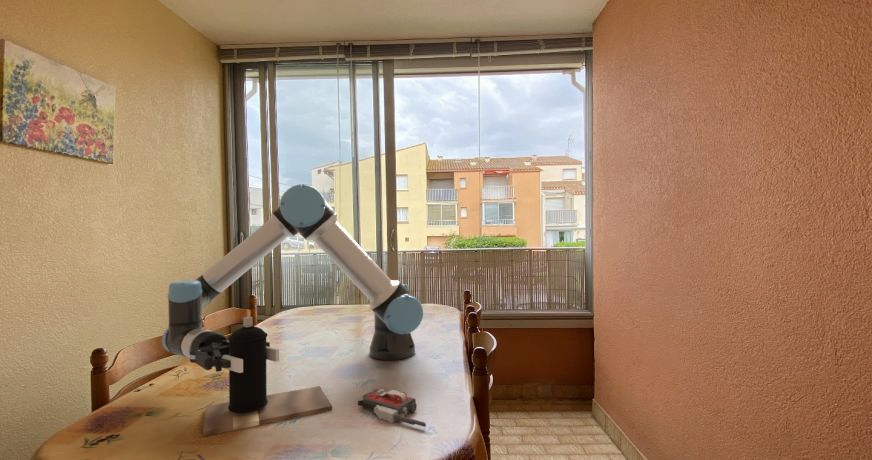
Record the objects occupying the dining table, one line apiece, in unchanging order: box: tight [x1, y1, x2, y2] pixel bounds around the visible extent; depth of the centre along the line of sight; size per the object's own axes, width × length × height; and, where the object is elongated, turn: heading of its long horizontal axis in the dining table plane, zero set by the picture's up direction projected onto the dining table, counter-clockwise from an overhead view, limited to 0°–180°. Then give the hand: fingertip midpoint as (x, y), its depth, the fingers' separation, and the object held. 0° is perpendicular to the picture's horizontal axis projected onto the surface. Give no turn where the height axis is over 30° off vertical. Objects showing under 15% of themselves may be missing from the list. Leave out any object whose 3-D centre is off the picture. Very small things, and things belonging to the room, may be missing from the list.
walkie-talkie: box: [357, 388, 427, 428], centre depth 95 cm, size 9×4×20 cm
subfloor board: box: [202, 385, 333, 437], centre depth 97 cm, size 26×14×1 cm, turn 117°
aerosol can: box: [227, 316, 268, 413], centre depth 95 cm, size 8×8×20 cm
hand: (260, 360), depth 93 cm, fingers closed on aerosol can, 8 cm apart
